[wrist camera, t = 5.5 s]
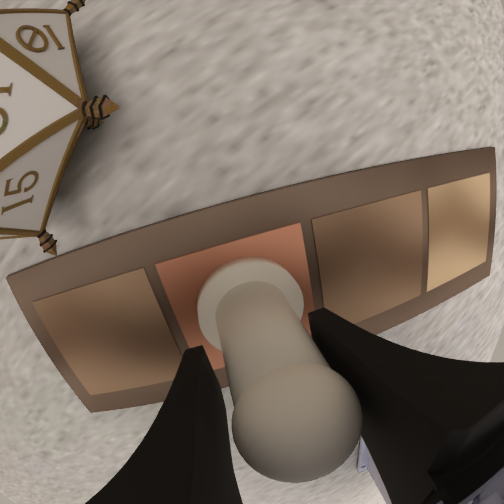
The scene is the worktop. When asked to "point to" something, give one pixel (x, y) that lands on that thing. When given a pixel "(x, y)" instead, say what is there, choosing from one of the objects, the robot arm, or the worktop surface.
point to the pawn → (277, 373)
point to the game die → (39, 115)
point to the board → (271, 247)
